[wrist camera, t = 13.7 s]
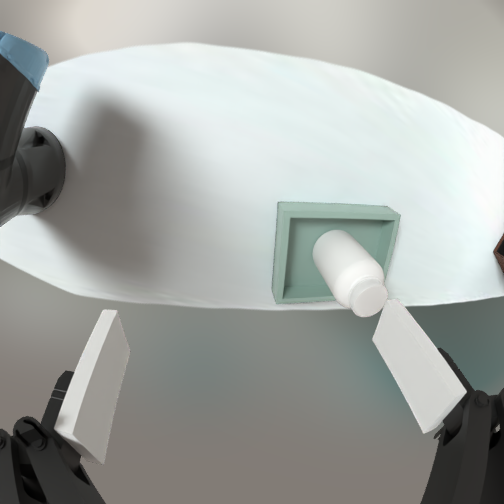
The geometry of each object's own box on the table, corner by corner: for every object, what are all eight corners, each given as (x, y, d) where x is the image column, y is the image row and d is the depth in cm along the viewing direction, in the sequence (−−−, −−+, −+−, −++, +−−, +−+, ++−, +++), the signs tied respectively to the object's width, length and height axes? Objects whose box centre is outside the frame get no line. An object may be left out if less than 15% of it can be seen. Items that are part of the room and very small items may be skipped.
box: (271, 289, 50) (275, 304, 46) (277, 201, 43) (283, 210, 39) (370, 283, 52) (380, 296, 48) (387, 206, 45) (400, 214, 41)
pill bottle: (320, 277, 49) (351, 334, 36) (304, 241, 45) (336, 293, 32) (359, 257, 48) (400, 307, 35) (346, 220, 45) (392, 263, 31)
